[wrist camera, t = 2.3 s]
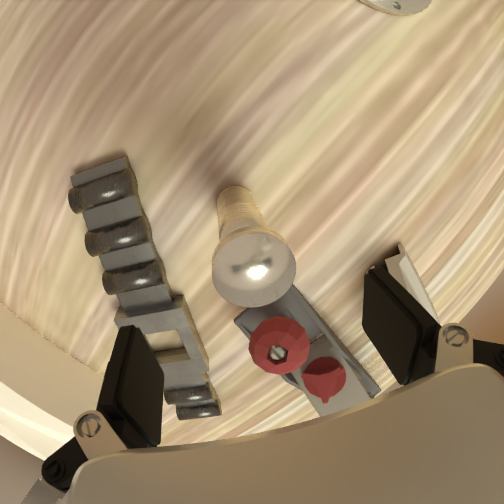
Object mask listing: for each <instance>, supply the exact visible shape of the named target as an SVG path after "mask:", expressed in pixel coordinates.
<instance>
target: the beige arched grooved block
mask: <svg viewBox="0 0 504 504" xmlns="http://www.w3.org/2000/svg"><path fill="white" fill-rule="evenodd" d="M397 246H398V248H399V251H400V253H401V254H398V255H395V256H393V257H390V258H387V259H385V262H386V263H385V264H384V265H383V267H384V269H386V270H387V271H388V272H389V273H390V274H391V275H392V276H393V277H394V278H395V279H396V280H397V281H398V282H399V283H400V284H401V285H402V286H403V287H404V288H405V289H406V290H407V291H408V292H409V293H410V294H411V295H412V296H413V297H414V298H415V299H416V300H417V301H418V302H419V303H420V304H421V305H422V306H423V307H424V308H425V309H426V310H427V311H428V313H429V314H430V315H431V316H432V317H433V318H434V319H435V320H436V321H437V322H438V323H439V320H438V317H437V314H436V312H435V310H434V307H433V305H432V303H431V301H430V299H429V296H428V294H427V292H426V290H425V288H424V286H423V284H422V282H421V280H420V278H419V276H418V274H417V272H416V270H415V268H414V266H413V264H412V262H411V260H410V258H409V256H408V254H407V252H406V251H405V249H404V247H403V245H402V243H399V244H398V245H397ZM372 268H375V266H374V265H373V266H372V267H371V268H369V269H372ZM369 269H368V270H369ZM368 270H367V271H366V274H367V273H368ZM439 324H440V323H439Z"/></svg>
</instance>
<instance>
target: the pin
mask: <svg viewBox="0 0 504 504" xmlns="http://www.w3.org/2000/svg"><path fill="white" fill-rule="evenodd" d="M217 215H218V227H219V239H220V242H219V244H218V245H217V247H216V248H215V251H214V253H213V257H212V279H213V283H214V286H215V288H216V290H217V291H218V293H219V294H220V295H221V296H222V297H223V298H224V299H225V300H227V301H228V302H230V303H232V304H234V305H237V306H241V307H250V308H252V307H260V306H264V305H268V304H270V303H272V302H274V301H276V300H277V299H279V298H280V297H282V296H283V295H284V294H285V293H286V292H287V291H288V289H289V288H290V287H291V285H292V283H293V281H294V278H295V274H296V262H295V258H294V255H293V253H292V251H291V250H290V248H289V246H288V244H287V243H286V241H285V240H284V238H283V237H282V236H281V235H279V234H278V233H277V232H275V231H273V230H271V229H269V228H268V226H267V224H266V222H265V220H264V218H263V216H262V214H261V212H260V210H259V208H258V206H257V204H256V202H255V200H254V198H253V196H252V195H251V193H250V192H249V191H248V190H247V189H246V188H244V187H242V186H230V187H227V188H226V189H224V190H223V191H222V192H221V193H220V194H219V196H218V199H217Z"/></svg>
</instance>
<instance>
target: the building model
mask: <svg viewBox="0 0 504 504" xmlns="http://www.w3.org/2000/svg"><path fill="white" fill-rule="evenodd" d="M103 380H104V377H103V376H102V375H100V374H98V373H96V372H95V371H93V370H92V369H90V368H88V367H87V366H85V365H83V364H82V363H80V362H79V361H77V360H76V359H74V358H73V357H71V356H70V355H68V354H67V353H65V352H64V351H62V350H61V349H59V348H58V347H56V346H55V345H53V344H52V343H51V342H49V341H48V340H47V339H45V338H44V337H42V336H41V335H40V334H38V333H37V332H36V331H35V330H33V329H32V328H31V327H29V326H28V325H27V324H26V323H24V322H23V321H22V320H21V319H19V318H18V317H17V316H16V315H15V314H13V313H12V312H11V311H10V310H9V309H8V308H6V307H5V306H4V305H3V304H2V303H1V302H0V435H2V436H3V437H5V438H6V439H8V440H9V441H11V442H12V443H14V444H16V445H17V446H19V447H21V448H23V449H24V450H26V451H28V452H29V453H31V454H33V455H35V456H37V457H39V458H41V459H42V460H44V461H45V460H46V459H47V458H48V457H49V456H50V455H52V454H53V453H54V452H55V451H57V450H58V449H59V448H60V447H62V446H63V445H64V444H65V443H67V442H68V441H69V440H70V439H72V438H73V437H74V436H75V435H74V432H73V425H74V422H75V420H76V419H77V417H78V416H79V415H81V414H82V413H84V412H85V411H89V410H96V407H97V403H98V399H99V395H100V391H101V387H102V383H103Z"/></svg>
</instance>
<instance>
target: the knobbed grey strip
mask: <svg viewBox="0 0 504 504" xmlns="http://www.w3.org/2000/svg"><path fill="white" fill-rule="evenodd" d="M70 178H71V181H72V184H73V188H71V189H70V190H69V193H68V200H69V204H70V207H71V209H72V210H73V212H74V213H76V214H78V213H81V212H82V214H83V217H84V220H85V222H86V225H87V228H88V230H89V231H88V232H87V233H86V234H85V246H86V249H87V251H88V253H89V254H90V255H91V256H92V257H95V256H98V255H99V258H100V260H101V262H102V265H103V267H104V269H105V272H104V273H103V276H102V282H103V286H104V289H105V291H106V293H107V294H108V295H114V294H116V295H117V297H118V299H119V302H120V304H121V306H122V307H119V308H118V310H117V313H116V316H115V318H114V322H115V323H116V325H117V327H118V329H120V327H122V326H128V325H134V326H135V327H136V328H137V327H139V328H140V330H141V331H142V333H143V335H144V337H145V334H151V333H157V332H163V331H169V330H175V329H177V331H178V333H179V335H180V338H181V340H182V342H183V344H184V346H185V347H183V348H177V349H171V350H165V351H158V352H154V351H153V350H152V348H151V346H150V344H149V342H148V340H147V339H146V337H145V339H146V341H147V343H148V345H149V347H150V348H151V350H152V352H153V354H154V356H155V358H156V359H157V361H158V363H159V365H160V366H161V368H162V370H163V372H164V397H165V400H166V402H167V404H168V405H170V404H175V405H176V413H177V416H178V419H179V420H189V419H198V418H205V417H213V416H220V415H222V410H221V402H220V400H219V398H218V396H217V394H216V392H215V390H214V388H213V386H212V384H211V382H210V380H209V378H208V376H207V374H206V372H207V371H209V358H208V355H207V353H206V351H205V348H204V346H203V343H202V341H201V339H200V336H199V334H198V331H197V329H196V326H195V324H194V321H193V319H192V316H191V313H190V311H189V308H188V305H187V303H186V300H185V298H184V295H180V296H175V297H173V294H172V292H171V289H170V286H169V284H168V281H167V279H166V271H165V267H164V264H163V262H162V260H161V259H159V257H158V254H157V251H156V248H155V245H154V242H153V239H152V231H151V227H150V223H149V221H148V219H147V217H146V216H145V215H144V212H143V209H142V205H141V202H140V199H139V195H138V186H137V180H136V177H135V174H134V172H133V170H132V169H131V168H130V164H129V160H128V156H125V157H122V158H119V159H116V160H113V161H110V162H107V163H104V164H101V165H98V166H96V167H93V168H90V169H88V170H85V171H82V172H80V173H77V174H75V175H73V176H71V177H70Z"/></svg>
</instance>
